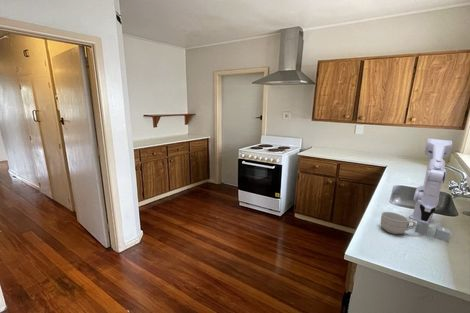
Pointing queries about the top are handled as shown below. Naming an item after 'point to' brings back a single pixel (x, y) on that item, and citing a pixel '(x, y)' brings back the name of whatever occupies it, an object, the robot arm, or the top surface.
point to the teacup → (395, 223)
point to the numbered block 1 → (442, 233)
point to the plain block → (422, 228)
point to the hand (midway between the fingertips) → (424, 220)
